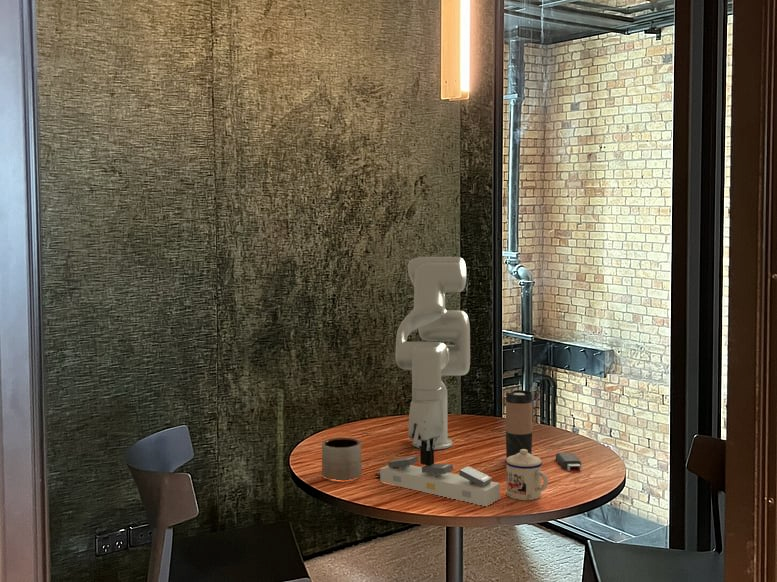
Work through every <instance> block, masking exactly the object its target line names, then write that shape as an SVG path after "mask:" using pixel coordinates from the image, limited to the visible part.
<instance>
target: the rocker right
mask: <svg viewBox="0 0 777 582" xmlns="http://www.w3.org/2000/svg"><path fill="white" fill-rule="evenodd" d="M458 475H460V476H462V477H464V478H466V479H468V480H470V481H472V482H474V483H476V484H478V485H480V486H482V487H484V486H486V485H487V484H489V483H491V481H492V479H493V477H492V476H489V475H488V474H486V473H483V472H481V471H479V470H478V469H475V468H473V467H471V466H465V467H463V468H461V469H460V470H459V473H458Z"/></svg>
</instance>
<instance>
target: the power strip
mask: <svg viewBox="0 0 777 582" xmlns="http://www.w3.org/2000/svg"><path fill="white" fill-rule="evenodd" d="M422 467H423V466H416V465H414V464H411V465H407V466H398V467H390V468H389V465H388V464H387V465H386V466H383V467H380V470H379V471H380V472H375V474H374V477H375V476H378V477H380V478H379V479H380V481H382V482H386V483H390V484H394V485H397V486H401V487H405V488H409V489H413V490H418V491H422V492H426V493H431V494H435V495H439V496H438V497H440V496H443V497H442V498H444V497H447V498H446V499H449V498H451V500H453V499H456V500H455V501H458V500H460V501H459V502H462V501H465V502H464V503H466V502H469V503H468V504H471V503H473V504H472V505H475V504H477V505H476V506H480V505H482V506H481V507H484V506H486V508H487V507H488V505H489V506H490V504H491V505H492V504H494V503H495V501H496V502H497V501H499V500H501V483H500V482H496V481H492V480H491V483H489V484H487V485H486V486H484V487H482V486H480V485H478V484H476V483H474V482H472V481H470V480H468V479H466V478H464V477H462V476H460V475H459V474H458V473H451V472H448V473H446V474H438V473H422ZM380 481H379V482H380ZM409 489H408V490H409ZM413 490H412V491H413ZM418 491H417V492H418ZM422 492H421V493H422ZM426 493H425V494H426ZM431 494H430V495H431ZM435 495H434V496H435ZM498 499H499V500H498ZM493 502H494V503H493Z"/></svg>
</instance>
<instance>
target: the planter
mask: <svg viewBox="0 0 777 582" xmlns="http://www.w3.org/2000/svg"><path fill="white" fill-rule="evenodd" d="M362 467H363V466H362V442H361V440H359V439H356V438H351V437H334V438H330V439H329V438H328V439H325V440H324V441H322V442H321V476H322V475H323V476H324V477H326V478H329V479H336V480H349V479H354V478H357V477H359V478H360V476H362V475H361V474H362V473H363V471H362ZM323 476H322V477H323Z"/></svg>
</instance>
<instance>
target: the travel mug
mask: <svg viewBox="0 0 777 582" xmlns="http://www.w3.org/2000/svg"><path fill="white" fill-rule="evenodd" d="M505 393H506V394H505V451H506V452H505V453H506V459H507V458H508V457H509V456H512V455H515V454H517V453H520V450H521V449H526V450H528V453H529V454H531V455H533V454H532V453H533V452H532V451H533V447H532V446H533V393H532V392H531V391H528V390H520V389H519V390H518V389H517V390H516V389H515V390H513V391H512V392H508V391H506V392H505Z"/></svg>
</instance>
